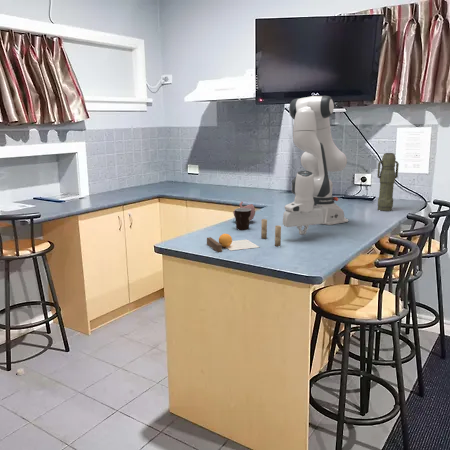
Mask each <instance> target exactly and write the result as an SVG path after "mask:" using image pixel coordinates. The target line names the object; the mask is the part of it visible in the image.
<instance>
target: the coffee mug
mask: <svg viewBox="0 0 450 450" xmlns="http://www.w3.org/2000/svg"><path fill="white" fill-rule="evenodd" d="M234 211H235V216H234V218H235V227H236V230H238V229H239V230H238V231H246V230H247V231H248V230H250V222H251V221H250V215H251V209H248V208H240V207H237V208H235V209H234Z"/></svg>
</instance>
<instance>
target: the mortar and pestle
mask: <svg viewBox="0 0 450 450" xmlns="http://www.w3.org/2000/svg"><path fill="white" fill-rule="evenodd" d="M243 204H244V201H240V202H239V208H248V209H251V215H250V222H251V221H252V220H253V219H254V217H255V215H256V207H255V205H254V204H252V203H251V204H247V205H245V206H243ZM232 214H233V216H234V217H235V210H234V211H233V212H232Z"/></svg>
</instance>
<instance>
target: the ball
mask: <svg viewBox="0 0 450 450" xmlns="http://www.w3.org/2000/svg"><path fill="white" fill-rule="evenodd" d="M232 241H233V238H232V236H231V235H230V234H228V233H222V234H221V235H220V236H219V238H218V243H220V244H221V245H222V248H226V247H228V246H230V245H231V243H232Z"/></svg>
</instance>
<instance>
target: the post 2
mask: <svg viewBox="0 0 450 450" xmlns="http://www.w3.org/2000/svg"><path fill="white" fill-rule="evenodd" d="M274 227H275V229H274V246H275V247H281V244H282V243H281V242H282V241H281V240H282V225H275V226H274Z"/></svg>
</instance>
